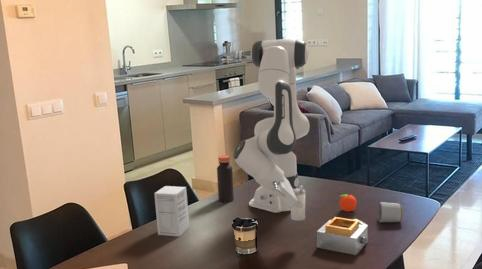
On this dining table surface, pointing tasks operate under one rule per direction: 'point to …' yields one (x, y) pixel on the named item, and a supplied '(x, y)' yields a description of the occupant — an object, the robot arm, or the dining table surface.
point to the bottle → (225, 179)
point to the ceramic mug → (389, 212)
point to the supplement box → (172, 211)
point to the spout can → (295, 211)
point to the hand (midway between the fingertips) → (299, 203)
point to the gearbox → (342, 236)
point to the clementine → (348, 202)
